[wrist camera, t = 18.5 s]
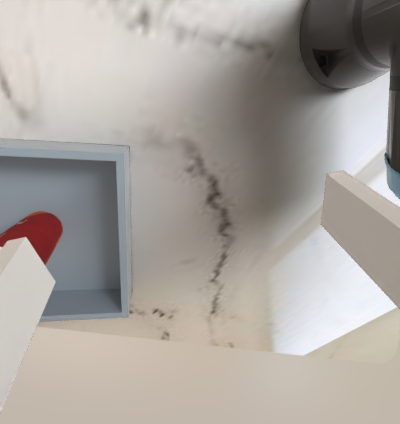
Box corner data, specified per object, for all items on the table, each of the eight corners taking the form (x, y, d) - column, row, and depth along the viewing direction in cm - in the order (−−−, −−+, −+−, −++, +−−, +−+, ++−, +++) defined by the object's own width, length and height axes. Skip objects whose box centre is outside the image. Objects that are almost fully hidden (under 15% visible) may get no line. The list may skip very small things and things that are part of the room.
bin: (129, 145, 39) (123, 153, 33) (132, 289, 49) (128, 317, 42) (-73, 134, 35) (-125, 140, 28) (-27, 294, 44) (-59, 326, 38)
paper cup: (16, 200, 39) (-53, 247, 26) (72, 209, 40) (33, 257, 28) (16, 246, 41) (-48, 310, 28) (68, 253, 43) (31, 316, 30)
